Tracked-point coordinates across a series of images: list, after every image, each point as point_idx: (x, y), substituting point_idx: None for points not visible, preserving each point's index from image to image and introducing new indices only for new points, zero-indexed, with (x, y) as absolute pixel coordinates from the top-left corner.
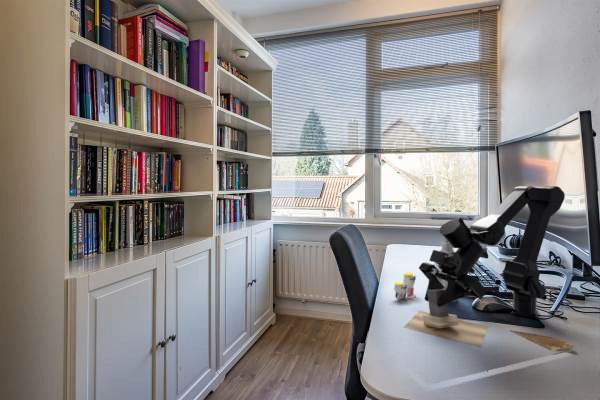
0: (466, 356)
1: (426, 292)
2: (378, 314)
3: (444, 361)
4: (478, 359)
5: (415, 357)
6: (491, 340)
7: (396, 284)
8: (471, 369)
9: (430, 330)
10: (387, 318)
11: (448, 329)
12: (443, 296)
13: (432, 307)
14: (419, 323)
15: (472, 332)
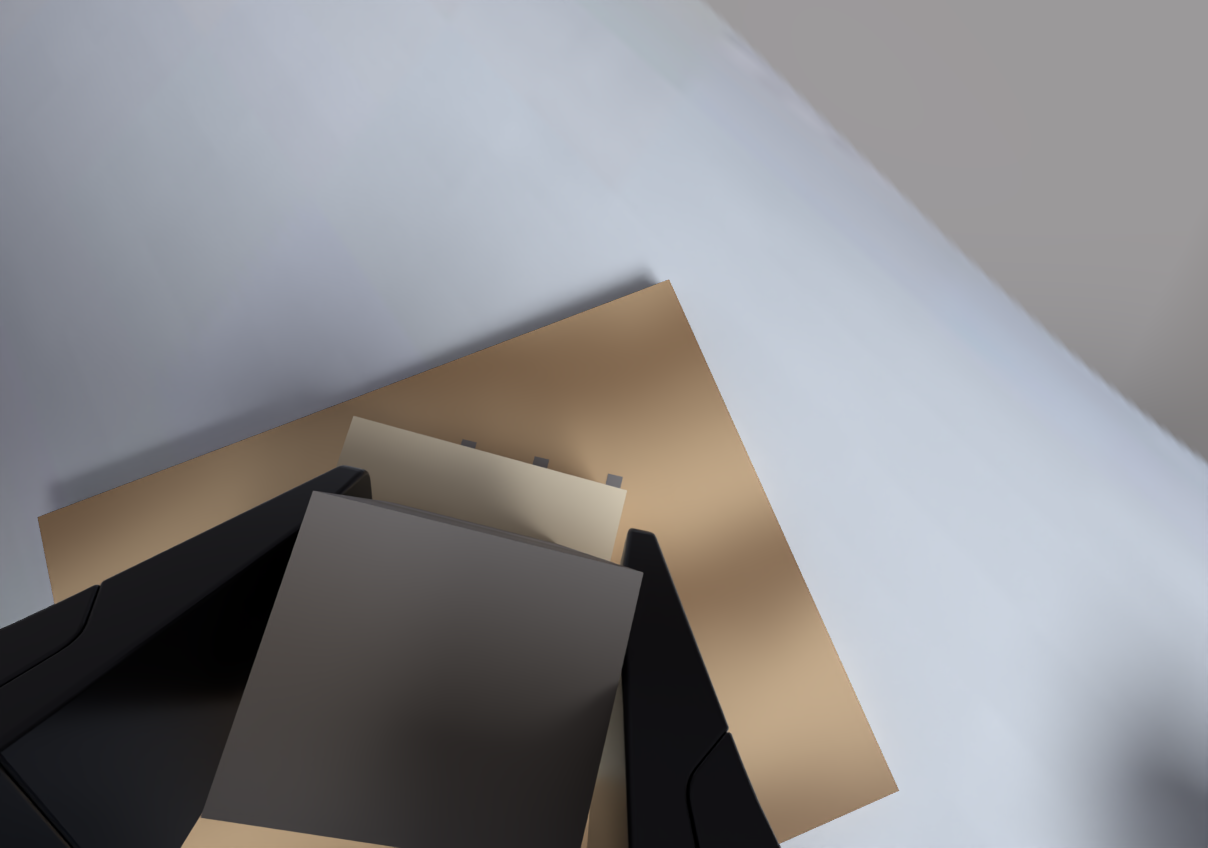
0: (108, 341)
1: (677, 618)
2: (1060, 359)
3: (184, 158)
4: (30, 375)
5: (336, 48)
6: None
7: None
8: (18, 216)
9: (485, 432)
10: (937, 362)
11: None
12: (183, 552)
13: (502, 531)
14: (644, 473)
15: None
